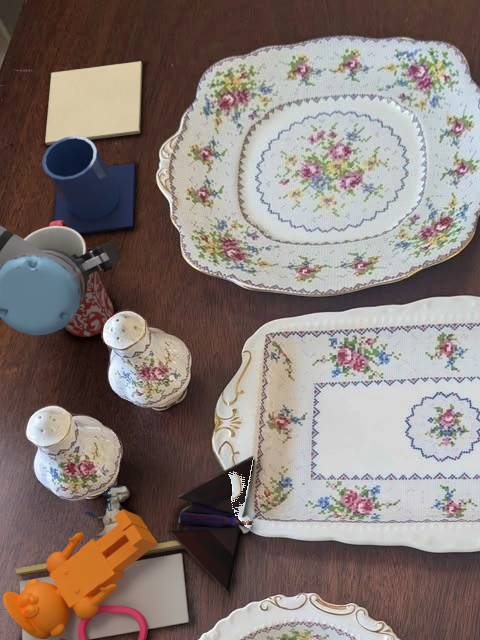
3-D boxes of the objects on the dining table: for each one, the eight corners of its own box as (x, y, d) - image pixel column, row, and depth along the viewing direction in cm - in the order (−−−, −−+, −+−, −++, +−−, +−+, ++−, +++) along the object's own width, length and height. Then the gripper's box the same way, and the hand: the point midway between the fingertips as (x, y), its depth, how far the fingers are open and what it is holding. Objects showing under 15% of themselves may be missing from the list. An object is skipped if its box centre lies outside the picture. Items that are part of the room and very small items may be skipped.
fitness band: (78, 653, 94) (73, 653, 93) (85, 603, 95) (79, 603, 94) (145, 657, 94) (141, 658, 93) (151, 608, 95) (147, 608, 94)
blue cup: (69, 225, 119) (40, 182, 110) (72, 184, 122) (44, 139, 113) (120, 218, 118) (95, 175, 110) (122, 178, 121) (97, 132, 113)
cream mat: (46, 145, 125) (44, 142, 124) (53, 75, 130) (51, 72, 130) (140, 133, 124) (138, 130, 124) (142, 64, 130) (141, 61, 129)
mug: (121, 338, 110) (85, 277, 98) (56, 347, 110) (11, 286, 98) (121, 267, 116) (86, 199, 103) (59, 275, 115) (16, 208, 103)
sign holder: (22, 570, 98) (25, 651, 96) (14, 568, 97) (18, 650, 94) (185, 541, 98) (193, 622, 96) (180, 539, 97) (189, 621, 94)
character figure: (186, 448, 101) (266, 455, 100) (192, 457, 103) (270, 464, 103) (154, 584, 94) (240, 592, 93) (161, 590, 96) (245, 598, 96)
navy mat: (54, 238, 118) (52, 235, 117) (59, 175, 122) (57, 172, 122) (133, 228, 118) (132, 225, 117) (135, 165, 122) (134, 163, 122)
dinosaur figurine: (151, 547, 97) (137, 484, 103) (126, 536, 94) (113, 470, 99) (116, 568, 98) (105, 504, 103) (91, 557, 95) (80, 492, 100)
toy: (175, 562, 95) (144, 551, 88) (57, 656, 95) (15, 653, 87) (137, 504, 98) (103, 488, 91) (21, 594, 98) (-22, 586, 90)
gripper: (-18, 355, 90) (11, 328, 110) (152, 275, 92) (150, 263, 113) (-59, 294, 86) (-21, 278, 107) (118, 213, 89) (122, 212, 110)
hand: (67, 270), depth 110 cm, fingers closed on mug, 8 cm apart
